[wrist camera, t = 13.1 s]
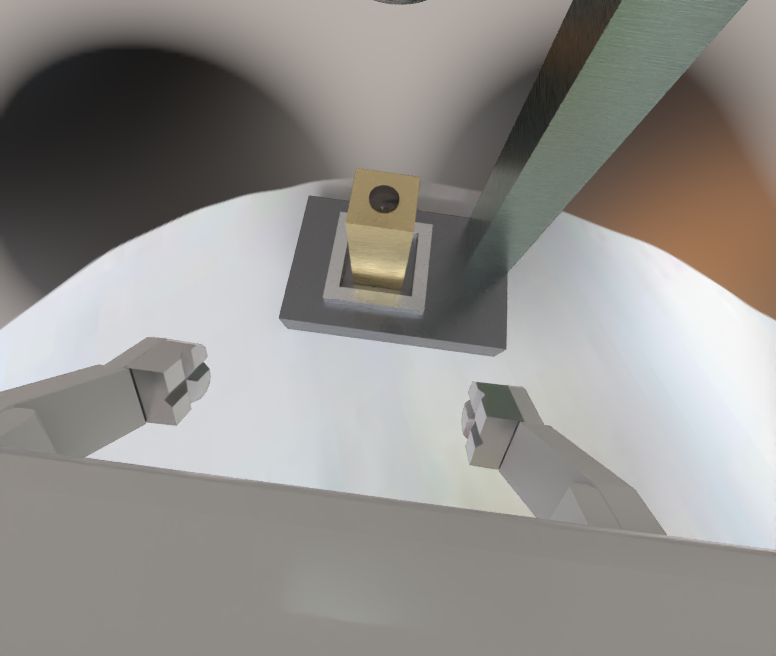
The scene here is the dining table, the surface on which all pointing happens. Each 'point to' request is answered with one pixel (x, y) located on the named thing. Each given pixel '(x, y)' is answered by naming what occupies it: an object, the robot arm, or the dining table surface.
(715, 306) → the dining table surface
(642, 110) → the press
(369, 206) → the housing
